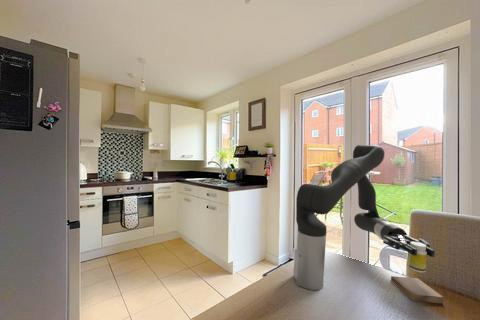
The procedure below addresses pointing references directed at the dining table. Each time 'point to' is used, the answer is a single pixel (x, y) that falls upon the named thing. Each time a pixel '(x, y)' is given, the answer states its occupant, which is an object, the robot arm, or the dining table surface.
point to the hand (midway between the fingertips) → (424, 253)
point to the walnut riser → (416, 290)
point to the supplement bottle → (417, 258)
